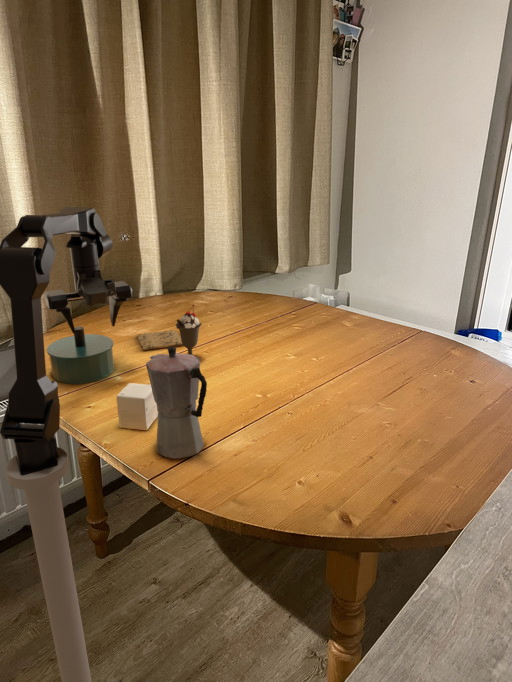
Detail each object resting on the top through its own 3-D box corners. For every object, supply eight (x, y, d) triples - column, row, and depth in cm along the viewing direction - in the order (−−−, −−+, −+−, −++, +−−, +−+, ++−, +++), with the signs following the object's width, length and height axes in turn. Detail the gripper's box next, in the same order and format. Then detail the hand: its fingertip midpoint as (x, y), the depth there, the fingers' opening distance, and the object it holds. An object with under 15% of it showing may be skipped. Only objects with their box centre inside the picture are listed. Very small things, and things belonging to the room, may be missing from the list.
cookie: (186, 345, 142) (185, 342, 142) (143, 351, 138) (142, 347, 137) (176, 331, 152) (176, 328, 152) (136, 336, 148) (135, 333, 148)
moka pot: (173, 423, 102) (168, 332, 95) (229, 451, 93) (228, 352, 86) (136, 443, 95) (127, 346, 88) (192, 475, 86) (187, 370, 79)
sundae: (205, 355, 135) (203, 302, 130) (200, 366, 129) (198, 310, 124) (181, 354, 136) (178, 301, 130) (175, 364, 130) (172, 309, 124)
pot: (59, 389, 116) (55, 363, 114) (48, 366, 128) (44, 342, 126) (121, 375, 123) (118, 351, 121) (105, 355, 135) (102, 332, 133)
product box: (147, 431, 99) (144, 398, 97) (118, 428, 100) (115, 395, 98) (158, 416, 105) (156, 384, 102) (131, 413, 106) (128, 382, 103)
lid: (53, 367, 114) (50, 344, 111) (42, 345, 126) (38, 324, 124) (121, 353, 121) (119, 332, 119) (104, 334, 133) (102, 314, 131)
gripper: (48, 278, 101) (59, 348, 107) (137, 267, 110) (143, 332, 116) (38, 266, 110) (49, 332, 116) (122, 257, 119) (128, 319, 125)
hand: (93, 329), depth 118 cm, fingers open, 9 cm apart
